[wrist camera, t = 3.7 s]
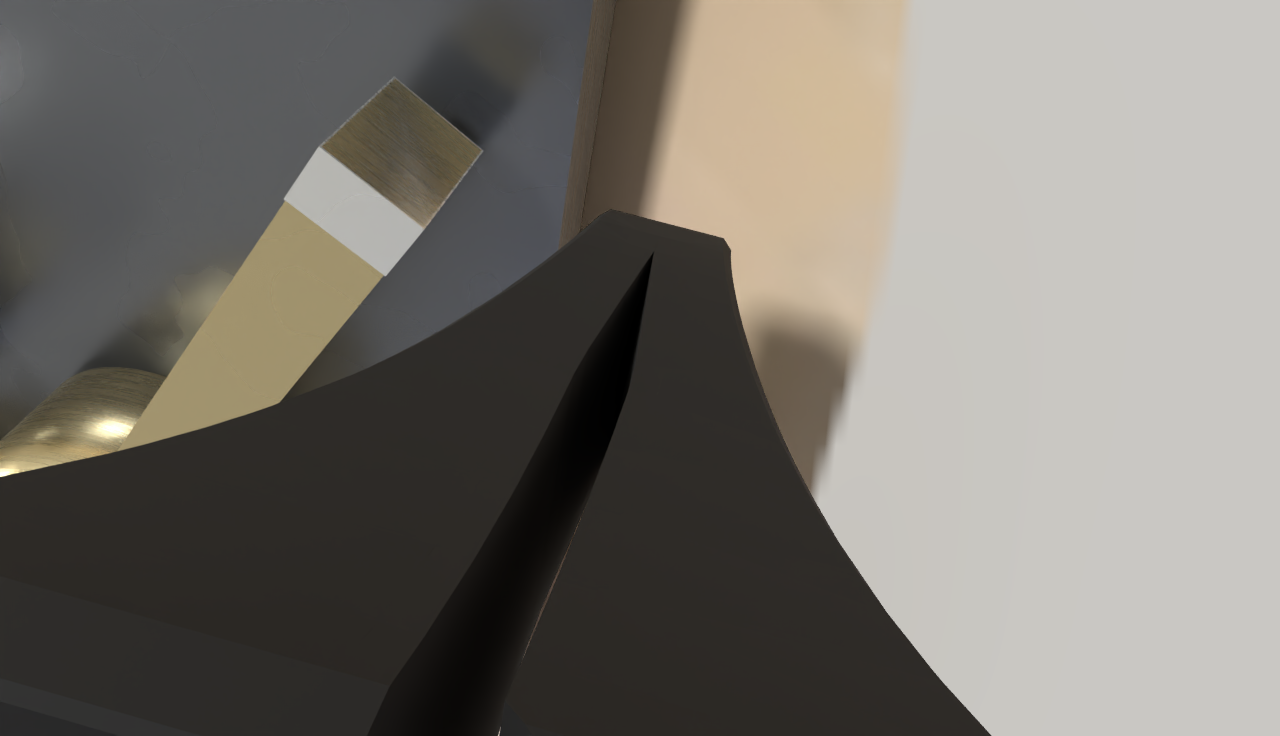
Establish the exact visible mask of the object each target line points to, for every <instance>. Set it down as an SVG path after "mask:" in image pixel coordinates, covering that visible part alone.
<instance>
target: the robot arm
mask: <svg viewBox="0 0 1280 736" xmlns="http://www.w3.org/2000/svg"><path fill="white" fill-rule="evenodd" d="M586 504H587V505H586ZM584 509H585V510H584ZM583 511H584V512H583ZM582 514H583V515H582ZM581 516H582V517H581ZM580 518H581V520H580ZM579 520H580V522H579ZM578 523H579V525H578ZM577 525H578V527H577ZM576 527H577V530H576ZM575 530H576V532H575ZM574 532H575V535H574V537H573V540H572V543H571V545H570V548H569V550H568V553H567V555H566V558H565V560H564V563H563V565H562V568H561V570H560V573H559V575H558V578H557V580H556V583H555V585H554V587H553V590H552V592H551V595H550V597H549V599H548V602H547V604H546V606H545V609H544V611H543V613H542V616H541V618H540V621H539V623H538V625H537V628H536V630H535V632H534V635H533V637H532V640H531V642H530V644H529V647H528V649H527V651H526V654H525V656H524V653H525V650H526V647H527V644H528V641H529V639H530V636H531V634H532V631H533V628H534V626H535V623H536V621H537V618H538V615H539V613H540V610H541V608H542V605H543V603H544V601H545V598H546V596H547V594H548V592H549V589H550V587H551V585H552V582H553V580H554V578H555V576H556V573H557V571H558V569H559V566H560V564H561V562H562V559H563V557H564V555H565V553H566V550H567V548H568V546H569V543H570V541H571V539H572V536H573V534H574ZM523 656H524V658H523ZM522 659H523V661H522ZM521 662H522V663H521ZM500 727H501V729H500ZM499 730H500V735H499V736H991V735H990V734H989V733H988V732H987V730H986V729H985V728H984V727H983V726H982V725H981V724H980V723H979V722H978V720H977V719H976V718H975V717H974V716H973V715H972V714H971V713H970V712H969V711H968V710H967V708H966V707H964V705H963V704H962V703H961V702H960V701H959V700H958V699H957V697H955V695H954V694H953V693H952V692H951V691H950V690H949V689H948V688H947V686H945V684H944V683H943V682H942V681H941V680H940V679H939V677H938V676H937V675H936V674H935V673H934V672H933V670H932V669H931V668H930V666H929V665H928V664H927V663H926V662H925V660H924V659H923V658H922V656H921V655H920V654H919V653H918V651H917V650H916V649H915V648H914V646H913V645H912V644H911V642H910V641H909V640H908V639H907V637H906V636H905V635H904V634H903V632H902V631H901V630H900V629H899V627H898V626H897V625H896V624H895V622H894V621H893V620H892V619H891V617H890V616H889V615H888V613H887V612H886V611H885V609H884V608H883V606H882V605H881V603H880V602H879V600H878V599H877V597H876V596H875V595H874V593H873V592H872V590H871V589H870V587H869V586H868V584H867V583H866V581H865V580H864V579H863V577H862V576H861V574H860V573H859V571H858V570H857V568H856V567H855V565H854V564H853V562H852V561H851V559H850V558H849V557H848V555H847V554H846V552H845V551H844V549H843V548H842V546H841V545H840V543H839V542H838V540H837V538H836V537H835V535H834V533H833V532H832V530H831V528H830V526H829V525H828V523H827V521H826V520H825V518H824V516H823V514H822V513H821V511H820V509H819V507H818V506H817V504H816V502H815V501H814V499H813V497H812V495H811V493H810V491H809V489H808V488H807V486H806V484H805V482H804V480H803V478H802V476H801V474H800V472H799V470H798V468H797V466H796V465H795V463H794V460H793V458H792V456H791V454H790V452H789V450H788V448H787V446H786V444H785V441H784V439H783V437H782V435H781V432H780V430H779V428H778V426H777V423H776V421H775V418H774V416H773V413H772V411H771V408H770V406H769V403H768V401H767V398H766V396H765V393H764V391H763V388H762V385H761V382H760V379H759V377H758V374H757V371H756V368H755V365H754V362H753V358H752V355H751V352H750V349H749V345H748V342H747V339H746V335H745V332H744V329H743V325H742V321H741V317H740V313H739V309H738V304H737V300H736V295H735V290H734V284H733V278H732V270H731V250H730V248H729V246H728V245H727V243H726V241H725V240H724V238H721V237H717V236H713V235H709V234H705V233H701V232H697V231H693V230H690V229H686V228H682V227H678V226H674V225H670V224H666V223H662V222H658V221H655V220H651V219H647V218H643V217H639V216H635V215H631V214H627V213H624V212H620V211H616V210H612V209H611V210H609V211H607V212H605V213H604V214H602V215H600V216H598V217H597V218H596V219H595V220H594V221H593V222H592V223H591V224H589V225H588V226H587V227H586V228H585V229H584V230H582V231H581V232H580V233H579V234H578V235H576V236H575V237H574V238H573V239H572V240H570V241H569V242H568V243H567V244H565V245H564V246H563V247H562V248H560V249H559V250H558V251H557V252H555V253H554V254H553V255H551V256H550V257H549V258H548V259H546V260H545V261H544V262H542V263H541V264H540V265H538V266H537V267H535V268H534V269H533V270H531V271H530V272H529V273H527V274H526V275H524V276H523V277H522V278H520V279H519V280H517V281H516V282H515V283H513V284H512V285H511V286H509V287H508V288H506V289H505V290H503V291H502V292H501V293H499V294H498V295H496V296H495V297H493V298H492V299H490V300H488V301H487V302H485V303H484V304H482V305H480V306H479V307H477V308H475V309H474V310H472V311H471V312H469V313H467V314H466V315H464V316H463V317H461V318H459V319H458V320H456V321H455V322H453V323H451V324H450V325H448V326H447V327H445V328H443V329H442V330H440V331H438V332H436V333H435V334H433V335H431V336H429V337H427V338H425V339H424V340H422V341H420V342H418V343H416V344H415V345H413V346H411V347H409V348H407V349H405V350H403V351H401V352H399V353H397V354H395V355H393V356H391V357H389V358H387V359H385V360H383V361H381V362H379V363H377V364H375V365H373V366H371V367H369V368H366V369H364V370H362V371H359V372H357V373H355V374H353V375H350V376H348V377H345V378H342V379H340V380H337V381H335V382H332V383H329V384H327V385H324V386H322V387H319V388H316V389H314V390H311V391H309V392H306V393H303V394H301V395H298V396H296V397H293V398H290V399H288V400H285V401H283V402H280V403H277V404H275V405H272V406H270V407H267V408H264V409H261V410H258V411H255V412H252V413H249V414H246V415H243V416H240V417H237V418H233V419H230V420H227V421H224V422H221V423H218V424H214V425H211V426H208V427H205V428H201V429H198V430H194V431H191V432H187V433H184V434H180V435H176V436H173V437H169V438H166V439H162V440H159V441H155V442H151V443H148V444H144V445H140V446H136V447H132V448H128V449H124V450H120V451H116V452H112V453H108V454H104V455H99V456H94V457H90V458H85V459H80V460H76V461H71V462H66V463H62V464H57V465H52V466H48V467H43V468H38V469H34V470H29V471H25V472H20V473H15V474H11V475H6V476H1V477H0V736H498V734H499Z"/></svg>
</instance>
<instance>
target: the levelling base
mask: <svg viewBox="0 0 1280 736" xmlns="http://www.w3.org/2000/svg"><path fill="white" fill-rule="evenodd" d="M615 3H616V0H0V440H1V439H2V438H4V437H5V436H6V435H7V434H8V433H9V432H10V431H11V430H12V429H13V428H14V427H15V426H17V425H18V424H19V423H20V422H21V421H22V420H23V419H24V418H25V417H26V416H27V415H28V414H29V413H31V412H32V411H33V410H34V409H35V408H36V407H37V406H38V405H39V404H40V403H41V402H42V401H44V400H45V399H46V398H47V397H48V396H49V395H50V394H51V393H52V392H53V391H54V390H55V389H56V388H58V387H59V386H60V385H61V384H62V383H63V382H64V381H66V380H67V379H68V378H70V377H72V376H74V375H76V374H77V373H80V372H83V371H87V370H90V369H96V368H103V367H121V368H130V369H138V370H142V371H147V372H151V373H155V374H158V375H161V376H165V377H167V376H168V375H169V373H170V372H171V370H172V369H173V367H174V366H175V364H176V363H177V361H178V360H179V358H180V357H181V355H182V354H183V352H184V351H185V349H186V348H187V346H188V345H189V343H190V342H191V340H192V339H193V337H194V336H195V334H196V333H197V331H198V330H199V329H200V327H201V326H202V324H203V323H204V321H205V320H206V318H207V317H208V315H209V314H210V312H211V311H212V309H213V308H214V306H215V305H216V303H217V302H218V300H219V299H220V297H221V296H222V294H223V293H224V291H225V290H226V288H227V287H228V285H229V284H230V282H231V281H232V279H233V278H234V276H235V275H236V273H237V272H238V270H239V269H240V267H241V266H242V264H243V263H244V261H245V260H246V258H247V257H248V255H249V254H250V253H251V251H252V250H253V248H254V247H255V245H256V244H257V242H258V241H259V239H260V238H261V236H262V235H263V233H264V232H265V230H266V229H267V227H268V226H269V224H270V223H271V221H272V220H273V218H274V217H275V215H276V214H277V212H278V211H279V209H280V208H281V206H282V205H283V203H284V202H285V200H284V198H285V196H286V195H287V193H288V192H289V190H290V189H291V187H292V186H293V184H294V183H295V181H296V180H297V178H298V177H299V175H300V174H301V172H302V171H303V169H304V168H305V166H306V165H307V163H308V162H309V160H310V159H311V157H312V156H313V154H314V153H315V151H316V150H317V148H318V147H319V146H320V145H321V144H322V143H323V142H324V141H325V140H326V139H327V138H328V137H329V136H330V135H331V134H333V133H334V132H335V131H336V130H337V129H338V128H339V127H340V126H341V125H342V124H343V123H344V122H345V121H347V120H348V119H349V118H350V117H351V116H352V115H353V114H354V113H355V112H356V111H357V110H358V109H360V108H361V107H362V106H363V105H364V104H365V103H366V102H367V101H368V100H369V99H370V98H371V97H372V96H374V95H375V94H376V93H377V92H378V91H379V90H380V89H381V88H382V87H383V86H384V85H385V84H386V83H388V82H389V81H390V80H391V79H392V78H393V77H396V78H397V79H398V80H399V81H400V82H402V83H403V84H404V85H405V86H406V87H408V88H409V89H410V90H411V91H412V92H414V93H415V94H416V95H417V96H418V97H420V98H421V99H422V100H423V101H424V102H426V103H427V104H428V105H429V106H430V107H432V108H433V109H434V110H435V111H436V112H438V113H439V114H440V115H441V116H442V117H444V118H445V119H446V120H447V121H448V122H450V123H451V124H452V125H453V126H454V127H456V128H457V129H458V130H459V131H460V132H462V133H463V134H464V135H465V136H467V137H468V138H469V139H470V140H471V141H473V142H474V143H475V144H476V145H477V146H479V147H480V148H481V149H482V150H483V152H482V154H481V155H480V156H479V158H478V159H477V160H476V162H475V163H474V164H473V166H472V167H471V168H470V170H469V171H468V172H467V173H466V175H465V176H464V177H463V179H462V180H461V181H460V183H459V184H458V185H457V187H456V188H455V189H454V191H453V192H452V193H451V195H450V196H449V197H448V199H447V200H446V201H445V203H444V204H443V205H442V207H441V208H440V209H439V211H438V212H437V213H436V215H435V216H434V217H433V219H432V220H431V221H430V223H429V224H428V225H427V227H426V228H425V229H424V230H423V232H422V233H421V234H420V235H419V237H418V238H417V239H416V240H415V241H414V243H413V244H412V245H411V246H410V247H409V249H408V250H407V251H406V252H405V254H404V255H403V256H402V257H401V258H400V260H399V261H398V262H397V263H396V264H395V266H394V267H393V268H392V269H391V271H390V272H389V273H388V274H387V275H386V277H385V276H383V277H382V278H381V279H380V281H379V282H378V283H377V284H376V286H375V287H374V288H373V289H372V290H371V292H370V293H369V294H368V295H367V297H366V298H365V299H364V300H363V301H362V303H361V304H360V305H359V306H358V307H357V309H356V310H355V311H354V312H353V314H352V315H351V316H350V317H349V318H348V320H347V321H346V322H345V323H344V325H343V326H342V327H341V328H340V329H339V331H338V332H337V333H336V334H335V335H334V337H333V338H332V339H331V340H330V342H329V343H328V344H327V345H326V346H325V348H324V349H323V350H322V351H321V353H320V354H319V355H318V356H317V357H316V359H315V360H314V361H313V362H312V364H311V365H310V366H309V367H308V368H307V370H306V371H305V372H304V373H303V374H302V376H301V377H300V378H299V379H298V381H297V382H296V383H295V384H294V385H293V387H292V388H291V389H290V390H289V392H288V393H287V394H286V395H285V396H284V398H283V399H282V400H281V401H280V402H283V401H285V400H288V399H290V398H293V397H296V396H298V395H301V394H303V393H306V392H309V391H311V390H314V389H316V388H319V387H322V386H324V385H327V384H329V383H332V382H335V381H337V380H340V379H342V378H345V377H348V376H350V375H353V374H355V373H357V372H359V371H362V370H364V369H366V368H369V367H371V366H373V365H375V364H377V363H379V362H381V361H383V360H385V359H387V358H389V357H391V356H393V355H395V354H397V353H399V352H401V351H403V350H405V349H407V348H409V347H411V346H413V345H415V344H416V343H418V342H420V341H422V340H424V339H425V338H427V337H429V336H431V335H433V334H435V333H436V332H438V331H440V330H442V329H443V328H445V327H447V326H448V325H450V324H451V323H453V322H455V321H456V320H458V319H459V318H461V317H463V316H464V315H466V314H467V313H469V312H471V311H472V310H474V309H475V308H477V307H479V306H480V305H482V304H484V303H485V302H487V301H488V300H490V299H492V298H493V297H495V296H496V295H498V294H499V293H501V292H502V291H503V290H505V289H506V288H508V287H509V286H511V285H512V284H513V283H515V282H516V281H517V280H519V279H520V278H522V277H523V276H524V275H526V274H527V273H529V272H530V271H531V270H533V269H534V268H535V267H537V266H538V265H540V264H541V263H542V262H544V261H545V260H546V259H548V258H549V257H550V256H551V255H553V254H554V253H555V252H557V251H558V250H559V249H560V248H562V247H563V246H564V245H565V244H567V243H568V242H569V241H570V240H572V239H573V238H574V237H575V236H576V235H578V234H579V233H580V228H581V221H582V215H583V208H584V202H585V196H586V189H587V183H588V176H589V170H590V163H591V157H592V151H593V144H594V138H595V131H596V125H597V118H598V112H599V106H600V99H601V93H602V86H603V80H604V73H605V67H606V61H607V54H608V48H609V41H610V35H611V28H612V22H613V16H614V9H615ZM280 402H279V403H280Z"/></svg>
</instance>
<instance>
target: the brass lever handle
mask: <svg viewBox="0 0 1280 736" xmlns="http://www.w3.org/2000/svg"><path fill="white" fill-rule="evenodd" d="M482 152H483V150H482V149H481V148H480V147H479V146H477V145H476V144H475V143H474V142H473V141H471V140H470V139H469V138H468V137H467V136H465V135H464V134H463V133H462V132H460V131H459V130H458V129H457V128H456V127H454V126H453V125H452V124H451V123H450V122H448V121H447V120H446V119H445V118H444V117H442V116H441V115H440V114H439V113H438V112H436V111H435V110H434V109H433V108H432V107H430V106H429V105H428V104H427V103H426V102H424V101H423V100H422V99H421V98H420V97H418V96H417V95H416V94H415V93H414V92H412V91H411V90H410V89H409V88H408V87H406V86H405V85H404V84H403V83H402V82H400V81H399V80H398V79H397V78H396V77H393V78H392V79H391V80H390V81H389V82H388V83H386V84H385V85H384V86H383V87H382V88H381V89H380V90H379V91H378V92H377V93H376V94H375V95H374V96H372V97H371V98H370V99H369V100H368V101H367V102H366V103H365V104H364V105H363V106H362V107H361V108H360V109H358V110H357V111H356V112H355V113H354V114H353V115H352V116H351V117H350V118H349V119H348V120H347V121H345V122H344V123H343V124H342V125H341V126H340V127H339V128H338V129H337V130H336V131H335V132H334V133H333V134H331V135H330V136H329V137H328V138H327V139H326V140H325V141H324V142H323V143H322V144H321V145H320V146H319V147H318V148H317V150H316V151H315V153H314V154H313V156H312V157H311V159H310V160H309V162H308V163H307V165H306V166H305V168H304V169H303V171H302V172H301V174H300V175H299V177H298V178H297V180H296V181H295V183H294V184H293V186H292V187H291V189H290V190H289V192H288V193H287V195H286V196H285V198H284V200H285V202H284V203H283V205H282V206H281V208H280V209H279V211H278V212H277V214H276V215H275V217H274V218H273V220H272V221H271V223H270V224H269V226H268V227H267V229H266V230H265V232H264V233H263V235H262V236H261V238H260V239H259V241H258V242H257V244H256V245H255V247H254V248H253V250H252V251H251V253H250V254H249V255H248V257H247V258H246V260H245V261H244V263H243V264H242V266H241V267H240V269H239V270H238V272H237V273H236V275H235V276H234V278H233V279H232V281H231V282H230V284H229V285H228V287H227V288H226V290H225V291H224V293H223V294H222V296H221V297H220V299H219V300H218V302H217V303H216V305H215V306H214V308H213V309H212V311H211V312H210V314H209V315H208V317H207V318H206V320H205V321H204V323H203V324H202V326H201V327H200V329H199V330H198V331H197V333H196V334H195V336H194V337H193V339H192V340H191V342H190V343H189V345H188V346H187V348H186V349H185V351H184V352H183V354H182V355H181V357H180V358H179V360H178V361H177V363H176V364H175V366H174V367H173V369H172V370H171V372H170V373H169V375H168V376H167V377H165V376H161V375H158V374H155V373H151V372H147V371H142V370H138V369H130V368H121V367H103V368H96V369H90V370H87V371H83V372H80V373H77V374H76V375H74V376H72V377H70V378H68V379H67V380H66V381H64V382H63V383H62V384H61V385H60V386H59V387H58V388H56V389H55V390H54V391H53V392H52V393H51V394H50V395H49V396H48V397H47V398H46V399H45V400H44V401H42V402H41V403H40V404H39V405H38V406H37V407H36V408H35V409H34V410H33V411H32V412H31V413H29V414H28V415H27V416H26V417H25V418H24V419H23V420H22V421H21V422H20V423H19V424H18V425H17V426H15V427H14V428H13V429H12V430H11V431H10V432H9V433H8V434H7V435H6V436H5V437H4V438H2V439H1V440H0V477H1V476H6V475H11V474H15V473H20V472H25V471H29V470H34V469H38V468H43V467H48V466H52V465H57V464H62V463H66V462H71V461H76V460H80V459H85V458H90V457H94V456H99V455H104V454H108V453H112V452H116V451H120V450H124V449H128V448H132V447H136V446H140V445H144V444H148V443H151V442H155V441H159V440H162V439H166V438H169V437H173V436H176V435H180V434H184V433H187V432H191V431H194V430H198V429H201V428H205V427H208V426H211V425H214V424H218V423H221V422H224V421H227V420H230V419H233V418H237V417H240V416H243V415H246V414H249V413H252V412H255V411H258V410H261V409H264V408H267V407H270V406H272V405H275V404H277V403H279V402H280V401H281V400H282V399H283V398H284V396H285V395H286V394H287V393H288V392H289V390H290V389H291V388H292V387H293V385H294V384H295V383H296V382H297V381H298V379H299V378H300V377H301V376H302V374H303V373H304V372H305V371H306V370H307V368H308V367H309V366H310V365H311V364H312V362H313V361H314V360H315V359H316V357H317V356H318V355H319V354H320V353H321V351H322V350H323V349H324V348H325V346H326V345H327V344H328V343H329V342H330V340H331V339H332V338H333V337H334V335H335V334H336V333H337V332H338V331H339V329H340V328H341V327H342V326H343V325H344V323H345V322H346V321H347V320H348V318H349V317H350V316H351V315H352V314H353V312H354V311H355V310H356V309H357V307H358V306H359V305H360V304H361V303H362V301H363V300H364V299H365V298H366V297H367V295H368V294H369V293H370V292H371V290H372V289H373V288H374V287H375V286H376V284H377V283H378V282H379V281H380V279H381V278H382V277H383V276H385V277H386V275H387V274H388V273H389V272H390V271H391V269H392V268H393V267H394V266H395V264H396V263H397V262H398V261H399V260H400V258H401V257H402V256H403V255H404V254H405V252H406V251H407V250H408V249H409V247H410V246H411V245H412V244H413V243H414V241H415V240H416V239H417V238H418V237H419V235H420V234H421V233H422V232H423V230H424V229H425V228H426V227H427V225H428V224H429V223H430V221H431V220H432V219H433V217H434V216H435V215H436V213H437V212H438V211H439V209H440V208H441V207H442V205H443V204H444V203H445V201H446V200H447V199H448V197H449V196H450V195H451V193H452V192H453V191H454V189H455V188H456V187H457V185H458V184H459V183H460V181H461V180H462V179H463V177H464V176H465V175H466V173H467V172H468V171H469V170H470V168H471V167H472V166H473V164H474V163H475V162H476V160H477V159H478V158H479V156H480V155H481V154H482Z"/></svg>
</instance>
